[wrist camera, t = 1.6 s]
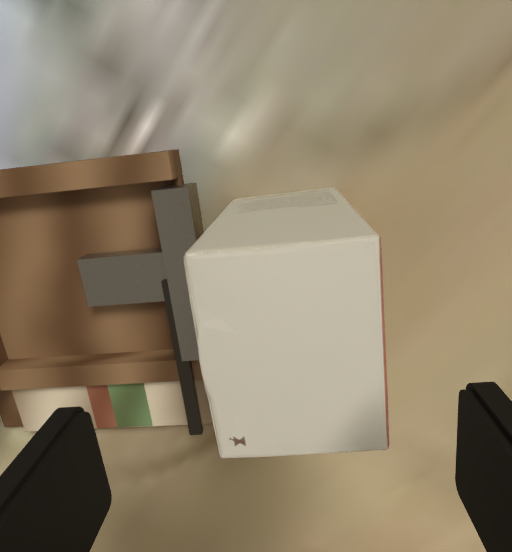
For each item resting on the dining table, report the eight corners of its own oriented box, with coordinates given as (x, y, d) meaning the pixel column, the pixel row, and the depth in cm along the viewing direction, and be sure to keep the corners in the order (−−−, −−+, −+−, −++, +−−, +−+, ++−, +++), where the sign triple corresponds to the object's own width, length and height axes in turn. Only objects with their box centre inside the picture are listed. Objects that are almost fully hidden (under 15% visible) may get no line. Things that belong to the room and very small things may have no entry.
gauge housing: (178, 149, 25) (122, 157, 17) (219, 410, 31) (193, 515, 22) (-71, 177, 27) (-234, 197, 18) (11, 420, 32) (-87, 520, 24)
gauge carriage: (196, 182, 24) (187, 187, 22) (230, 414, 29) (226, 434, 27) (72, 195, 25) (53, 200, 23) (125, 418, 30) (113, 438, 28)
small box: (346, 310, 27) (392, 456, 15) (248, 319, 28) (215, 464, 16) (337, 183, 25) (383, 232, 13) (230, 196, 26) (175, 254, 13)
